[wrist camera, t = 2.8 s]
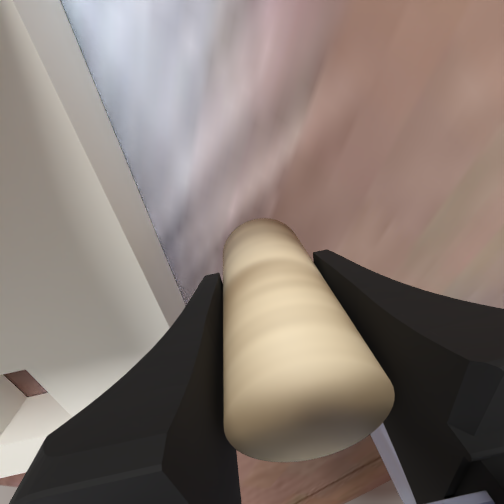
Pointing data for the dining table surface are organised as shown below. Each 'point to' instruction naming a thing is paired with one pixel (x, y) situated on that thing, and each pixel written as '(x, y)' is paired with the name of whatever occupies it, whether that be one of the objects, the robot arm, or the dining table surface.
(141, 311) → the station
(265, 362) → the peg
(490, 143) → the dining table surface
